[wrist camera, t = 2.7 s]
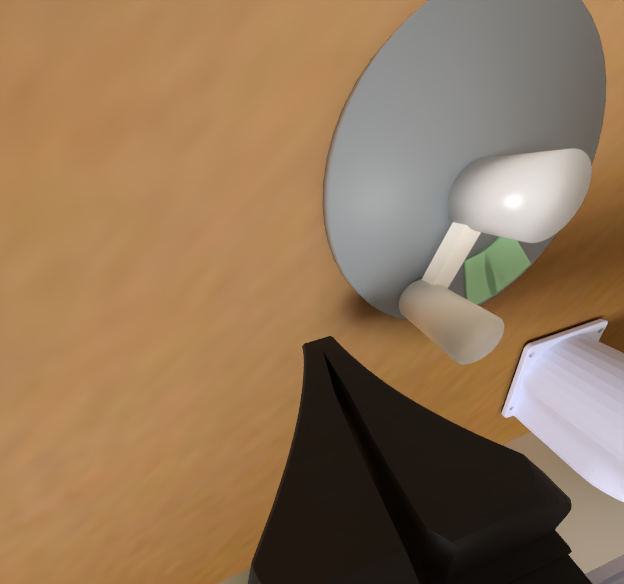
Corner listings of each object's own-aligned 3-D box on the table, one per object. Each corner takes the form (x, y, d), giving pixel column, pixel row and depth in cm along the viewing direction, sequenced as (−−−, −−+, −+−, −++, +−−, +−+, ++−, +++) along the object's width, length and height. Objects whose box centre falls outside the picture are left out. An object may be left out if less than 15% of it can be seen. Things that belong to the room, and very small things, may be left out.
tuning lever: (473, 145, 9) (589, 126, 6) (517, 173, 10) (637, 169, 7) (386, 313, 12) (435, 360, 9) (428, 322, 13) (484, 367, 10)
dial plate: (532, 280, 16) (550, 287, 15) (341, 338, 14) (348, 350, 13) (628, -28, 9) (672, -53, 8) (292, 11, 7) (298, -15, 6)
